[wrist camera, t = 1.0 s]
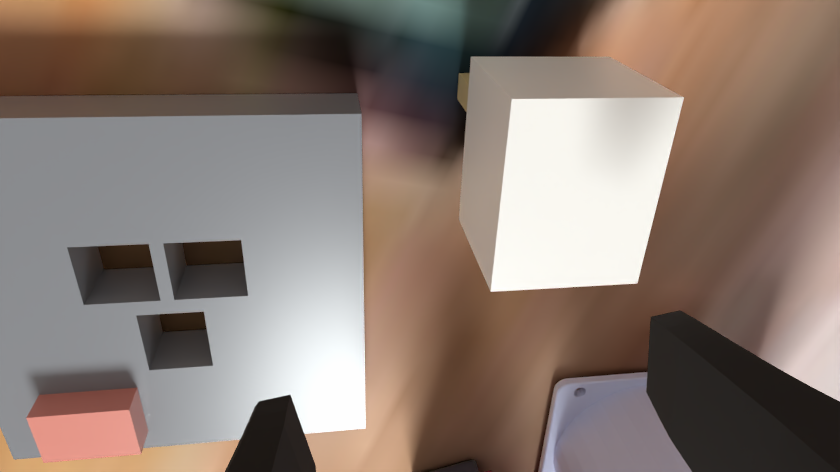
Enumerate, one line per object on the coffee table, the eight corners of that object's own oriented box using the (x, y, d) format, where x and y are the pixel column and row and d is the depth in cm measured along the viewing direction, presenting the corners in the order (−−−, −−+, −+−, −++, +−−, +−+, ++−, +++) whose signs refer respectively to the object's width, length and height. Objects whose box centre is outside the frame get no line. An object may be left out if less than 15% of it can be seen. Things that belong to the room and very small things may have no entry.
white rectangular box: (584, 43, 19) (683, 97, 14) (560, 191, 21) (637, 283, 16) (457, 42, 18) (512, 98, 13) (448, 194, 20) (490, 291, 15)
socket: (357, 93, 18) (363, 125, 16) (362, 390, 24) (367, 449, 21) (-83, 96, 16) (-158, 133, 14) (37, 416, 22) (0, 483, 20)
